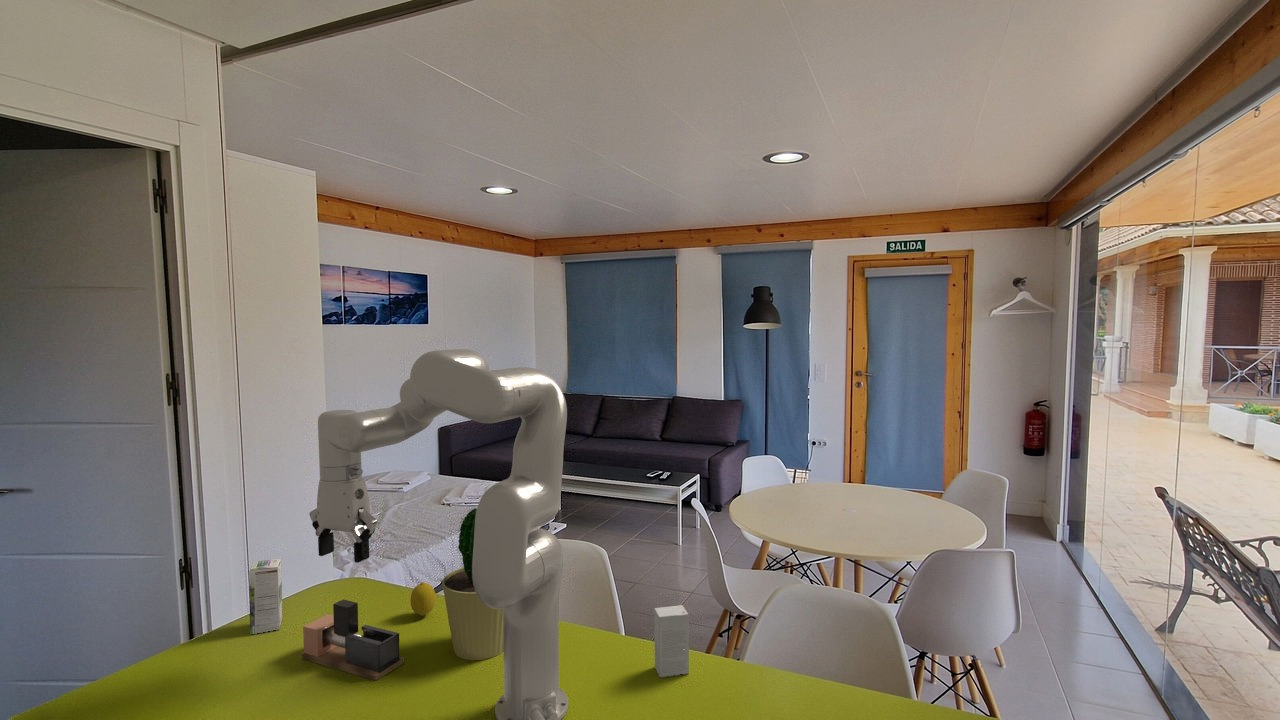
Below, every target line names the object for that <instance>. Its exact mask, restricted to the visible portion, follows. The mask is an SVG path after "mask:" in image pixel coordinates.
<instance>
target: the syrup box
mask: <svg viewBox="0 0 1280 720" xmlns="http://www.w3.org/2000/svg"><path fill="white" fill-rule="evenodd" d="M282 570H283V569H282V559H280V558H272V559H271V558H270V559H262V560H258V561H253V562H252V565H251V567H250V569H249V573H248V575H249V576H248V577H249V579H248V580H249V581H248V582H249V584H248V585H249V587H248V588H249V589H248V590H249V597H248V598H249V635H250V636H253V635H252V634H254V635H258V634H257V633H260V634H264V633H263V632H265V633H269V632H268V631H270V632H274V631H273V630H276V631H279V630H280V629H281V626H280V625H281V624H282V620H283V580H282V579H283V577H282Z"/></svg>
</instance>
